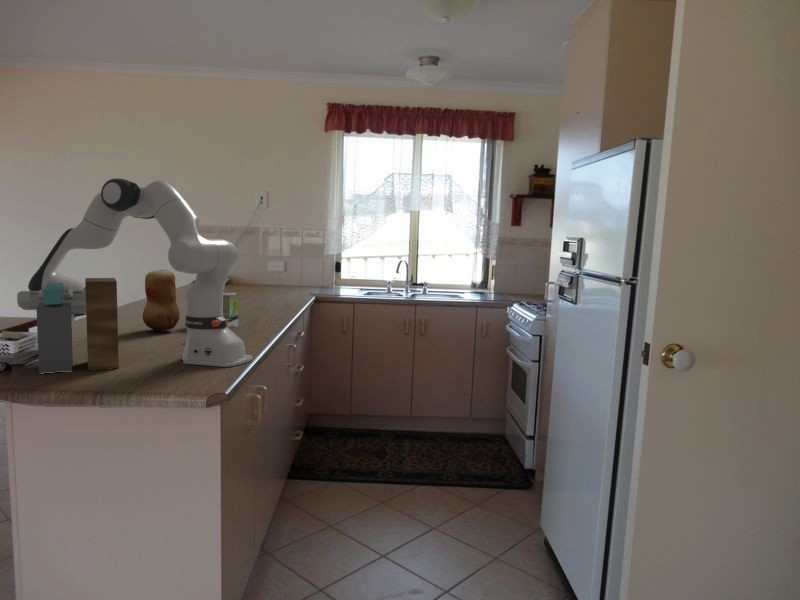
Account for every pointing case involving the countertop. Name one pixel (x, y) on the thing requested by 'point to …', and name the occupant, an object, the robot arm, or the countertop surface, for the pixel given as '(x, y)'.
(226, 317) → the tea box
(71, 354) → the upright gray pillar
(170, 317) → the butternut squash
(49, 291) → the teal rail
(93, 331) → the tall stand
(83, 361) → the countertop surface
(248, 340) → the countertop surface
